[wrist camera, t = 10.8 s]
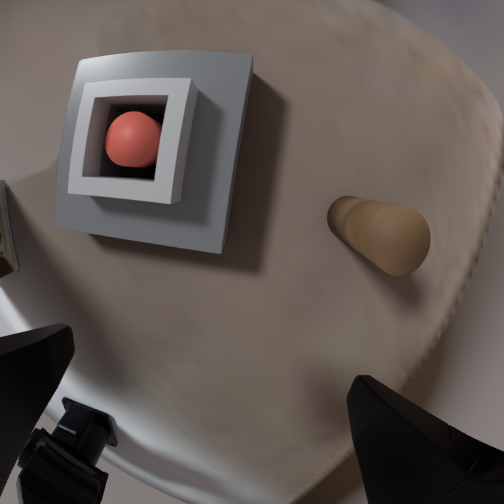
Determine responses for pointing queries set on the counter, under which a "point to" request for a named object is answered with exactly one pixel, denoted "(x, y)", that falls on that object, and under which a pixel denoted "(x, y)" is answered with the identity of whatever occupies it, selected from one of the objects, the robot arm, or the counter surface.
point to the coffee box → (6, 237)
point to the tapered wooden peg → (381, 233)
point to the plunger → (134, 140)
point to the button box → (170, 148)
